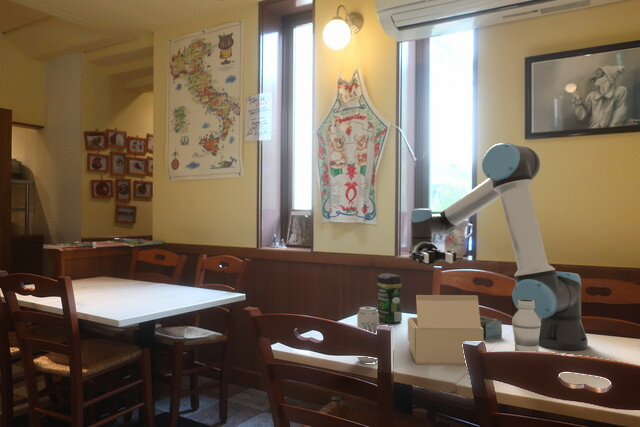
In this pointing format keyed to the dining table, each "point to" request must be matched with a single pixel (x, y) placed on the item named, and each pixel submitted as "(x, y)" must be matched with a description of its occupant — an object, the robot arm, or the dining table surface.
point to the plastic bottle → (526, 326)
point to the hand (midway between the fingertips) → (439, 258)
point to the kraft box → (439, 343)
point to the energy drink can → (368, 325)
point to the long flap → (448, 311)
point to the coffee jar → (389, 298)
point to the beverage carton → (491, 328)
